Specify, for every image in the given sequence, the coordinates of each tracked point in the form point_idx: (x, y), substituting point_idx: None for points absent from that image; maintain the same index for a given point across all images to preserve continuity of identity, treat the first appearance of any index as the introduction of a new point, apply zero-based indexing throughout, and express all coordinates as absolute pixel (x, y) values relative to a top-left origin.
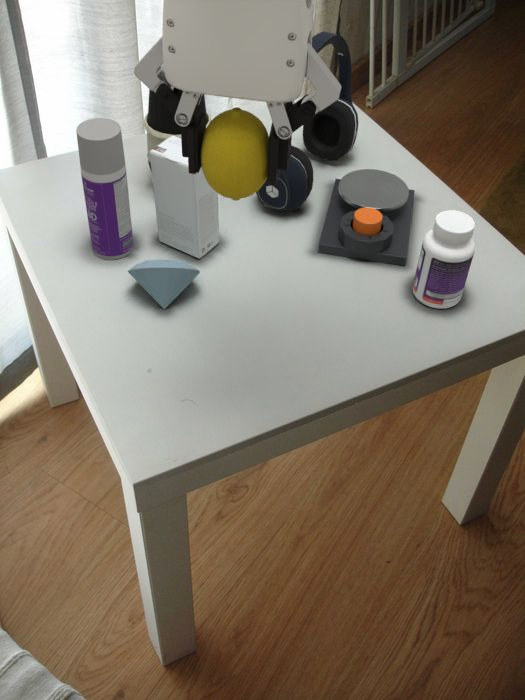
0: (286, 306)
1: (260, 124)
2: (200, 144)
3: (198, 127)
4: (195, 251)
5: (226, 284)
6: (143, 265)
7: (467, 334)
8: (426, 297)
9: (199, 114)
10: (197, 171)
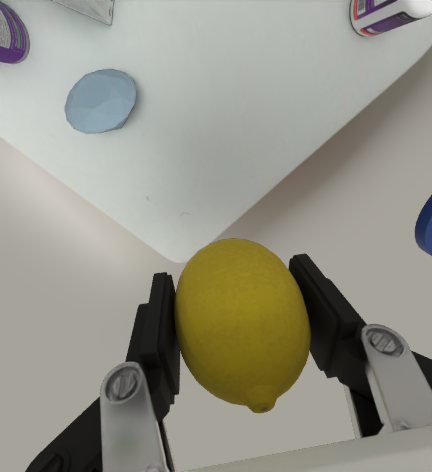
0: (226, 83)
1: (305, 358)
2: (176, 337)
3: (176, 386)
4: (103, 21)
5: (159, 65)
6: (84, 126)
7: (387, 69)
8: (364, 31)
9: (163, 384)
10: None
